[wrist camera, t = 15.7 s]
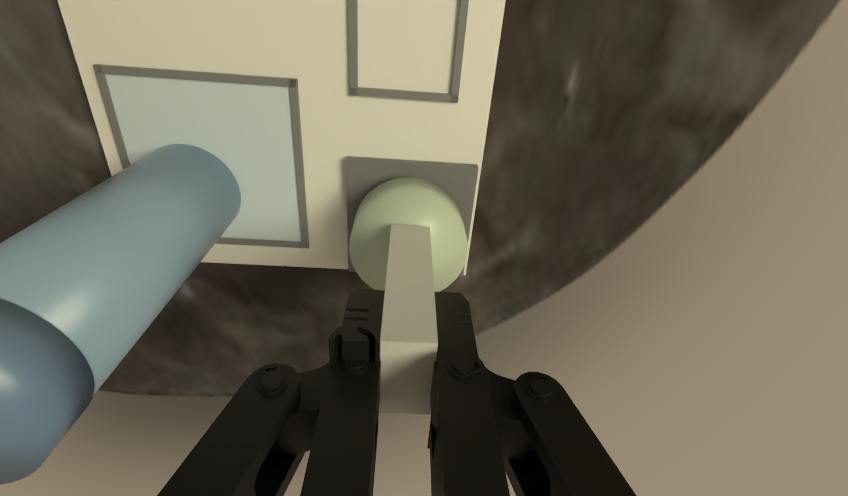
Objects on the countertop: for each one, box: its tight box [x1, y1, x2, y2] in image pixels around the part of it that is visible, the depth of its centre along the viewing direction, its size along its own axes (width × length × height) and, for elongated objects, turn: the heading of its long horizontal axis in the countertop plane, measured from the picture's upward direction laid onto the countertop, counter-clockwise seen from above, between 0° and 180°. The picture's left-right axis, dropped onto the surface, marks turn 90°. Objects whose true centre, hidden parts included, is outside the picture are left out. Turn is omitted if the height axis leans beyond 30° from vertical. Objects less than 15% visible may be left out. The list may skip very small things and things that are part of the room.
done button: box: [349, 177, 468, 292], centre depth 18 cm, size 5×5×2 cm
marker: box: [0, 144, 241, 484], centre depth 14 cm, size 4×4×12 cm
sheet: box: [58, 0, 505, 277], centre depth 18 cm, size 14×16×1 cm
